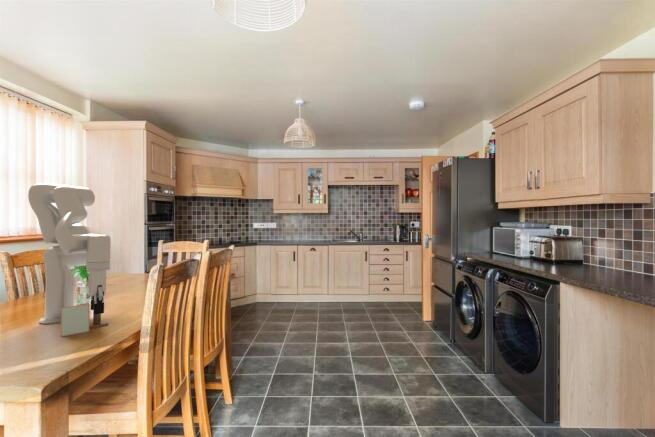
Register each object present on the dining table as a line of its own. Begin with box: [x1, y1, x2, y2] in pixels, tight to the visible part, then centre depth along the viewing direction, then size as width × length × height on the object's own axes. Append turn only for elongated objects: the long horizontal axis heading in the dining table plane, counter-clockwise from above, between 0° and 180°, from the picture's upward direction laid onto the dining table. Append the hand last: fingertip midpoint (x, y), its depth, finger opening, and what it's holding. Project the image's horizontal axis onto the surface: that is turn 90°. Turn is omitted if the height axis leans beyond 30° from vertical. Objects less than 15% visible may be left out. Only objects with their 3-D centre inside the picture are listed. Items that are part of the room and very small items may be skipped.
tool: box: [89, 298, 109, 330], centre depth 122 cm, size 4×7×14 cm, turn 133°
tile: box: [60, 303, 90, 337], centre depth 114 cm, size 1×8×10 cm, turn 134°
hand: (97, 311), depth 122 cm, fingers open, 7 cm apart
